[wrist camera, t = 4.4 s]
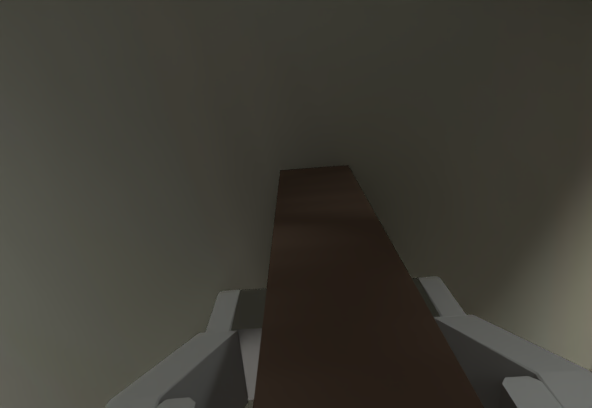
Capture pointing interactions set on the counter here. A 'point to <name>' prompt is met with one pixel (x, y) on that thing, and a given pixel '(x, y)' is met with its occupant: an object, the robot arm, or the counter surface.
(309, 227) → the tile
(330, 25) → the counter surface
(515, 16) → the counter surface
